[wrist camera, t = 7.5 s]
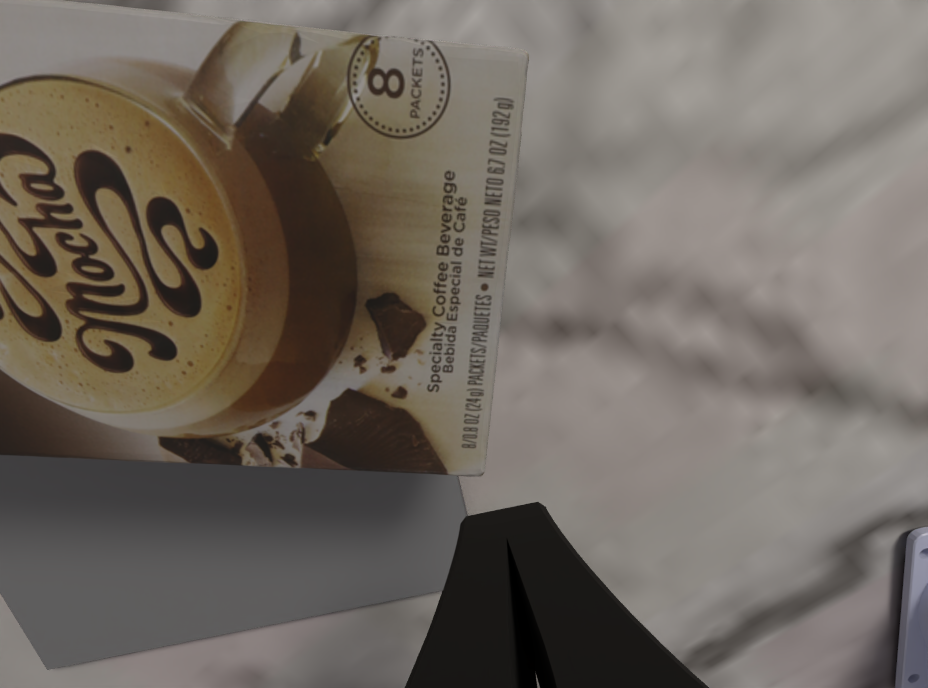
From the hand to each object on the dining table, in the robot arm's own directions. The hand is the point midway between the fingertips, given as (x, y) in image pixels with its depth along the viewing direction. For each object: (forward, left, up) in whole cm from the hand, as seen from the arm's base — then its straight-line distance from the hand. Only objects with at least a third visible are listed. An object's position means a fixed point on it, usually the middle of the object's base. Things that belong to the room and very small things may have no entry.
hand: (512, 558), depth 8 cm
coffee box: (+4, -1, -6) cm, 7 cm away
